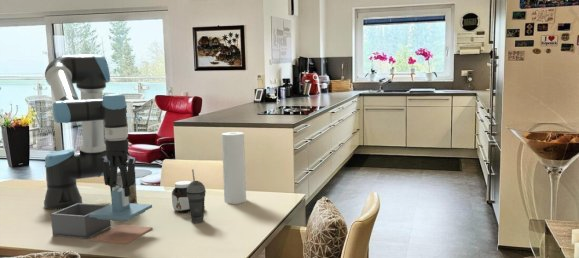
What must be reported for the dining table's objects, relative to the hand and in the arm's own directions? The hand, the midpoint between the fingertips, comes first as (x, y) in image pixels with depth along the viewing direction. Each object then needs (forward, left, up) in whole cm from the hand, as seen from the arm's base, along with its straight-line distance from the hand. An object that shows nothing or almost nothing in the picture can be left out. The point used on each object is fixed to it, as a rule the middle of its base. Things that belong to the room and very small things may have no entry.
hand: (121, 204), depth 181 cm
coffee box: (-16, +25, -11) cm, 32 cm away
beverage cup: (+19, +20, -11) cm, 30 cm away
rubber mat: (0, 0, -11) cm, 11 cm away
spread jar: (+9, +33, -11) cm, 36 cm away
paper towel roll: (+22, +50, -11) cm, 56 cm away
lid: (0, 0, -4) cm, 4 cm away
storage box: (-17, 0, -11) cm, 20 cm away
